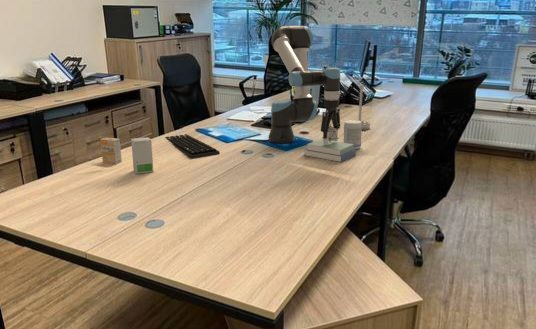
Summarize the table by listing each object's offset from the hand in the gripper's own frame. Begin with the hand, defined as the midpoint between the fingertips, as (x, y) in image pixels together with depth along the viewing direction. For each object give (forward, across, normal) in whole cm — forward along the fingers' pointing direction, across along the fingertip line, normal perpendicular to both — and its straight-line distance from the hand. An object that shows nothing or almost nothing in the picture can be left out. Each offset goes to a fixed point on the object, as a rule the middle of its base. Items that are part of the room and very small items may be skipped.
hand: (330, 142), depth 231 cm
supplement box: (+7, -77, +79) cm, 110 cm away
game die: (0, 0, 0) cm, 1 cm away
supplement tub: (+7, +21, -2) cm, 22 cm away
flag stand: (+7, +63, +14) cm, 65 cm away
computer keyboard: (+8, -33, +71) cm, 79 cm away
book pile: (+7, 0, 0) cm, 7 cm away
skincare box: (+7, -75, +57) cm, 94 cm away
